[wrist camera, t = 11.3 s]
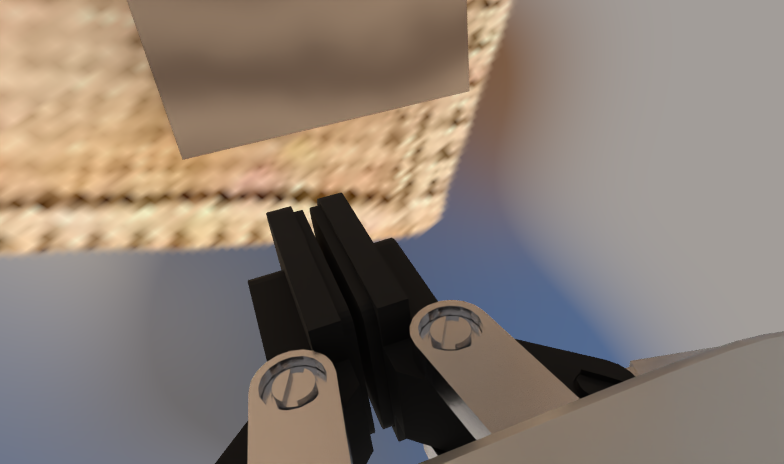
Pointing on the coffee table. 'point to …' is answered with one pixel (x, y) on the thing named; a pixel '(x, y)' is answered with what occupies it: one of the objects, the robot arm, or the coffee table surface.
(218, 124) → the brown board with blocks
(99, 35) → the coffee table surface
